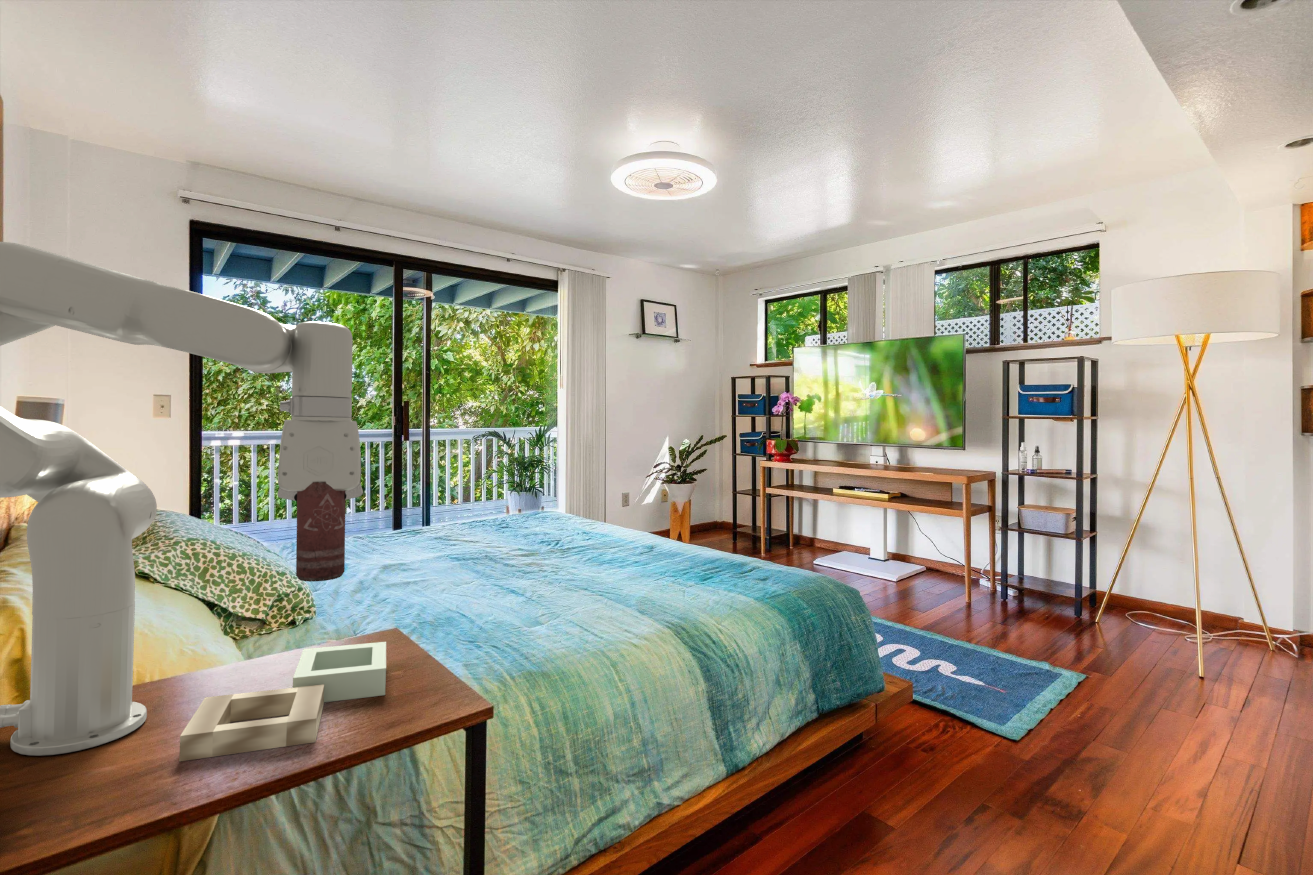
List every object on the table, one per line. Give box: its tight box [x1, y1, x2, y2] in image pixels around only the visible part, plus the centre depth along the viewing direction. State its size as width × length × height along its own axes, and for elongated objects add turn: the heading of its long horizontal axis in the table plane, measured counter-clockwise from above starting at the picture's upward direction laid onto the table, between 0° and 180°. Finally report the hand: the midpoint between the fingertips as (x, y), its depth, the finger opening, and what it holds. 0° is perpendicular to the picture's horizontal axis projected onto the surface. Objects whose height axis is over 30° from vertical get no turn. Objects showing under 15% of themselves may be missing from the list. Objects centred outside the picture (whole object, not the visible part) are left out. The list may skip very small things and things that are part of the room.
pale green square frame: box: [292, 641, 387, 703], centre depth 96 cm, size 12×12×4 cm
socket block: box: [178, 684, 325, 762], centre depth 81 cm, size 14×11×3 cm
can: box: [295, 482, 347, 583], centre depth 89 cm, size 6×6×14 cm
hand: (320, 538), depth 89 cm, fingers closed
